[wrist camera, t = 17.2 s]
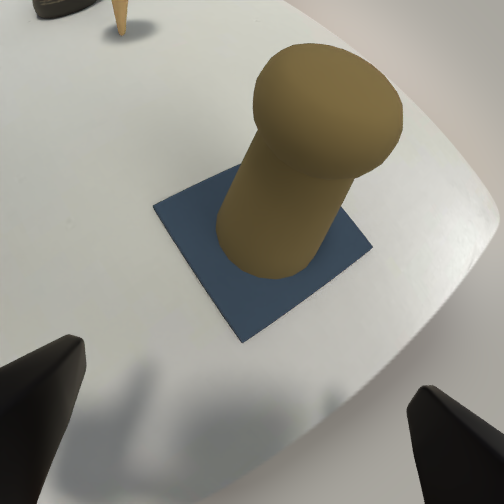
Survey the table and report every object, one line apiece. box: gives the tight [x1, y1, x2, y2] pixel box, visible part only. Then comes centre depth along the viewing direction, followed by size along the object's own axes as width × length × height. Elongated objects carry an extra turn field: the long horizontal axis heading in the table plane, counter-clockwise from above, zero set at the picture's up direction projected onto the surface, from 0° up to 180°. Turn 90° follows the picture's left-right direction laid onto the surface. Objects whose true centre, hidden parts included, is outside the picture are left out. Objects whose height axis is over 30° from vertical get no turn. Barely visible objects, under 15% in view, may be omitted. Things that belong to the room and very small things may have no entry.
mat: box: [153, 164, 373, 343], centre depth 19 cm, size 10×9×1 cm
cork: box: [216, 43, 403, 279], centre depth 13 cm, size 6×6×11 cm
